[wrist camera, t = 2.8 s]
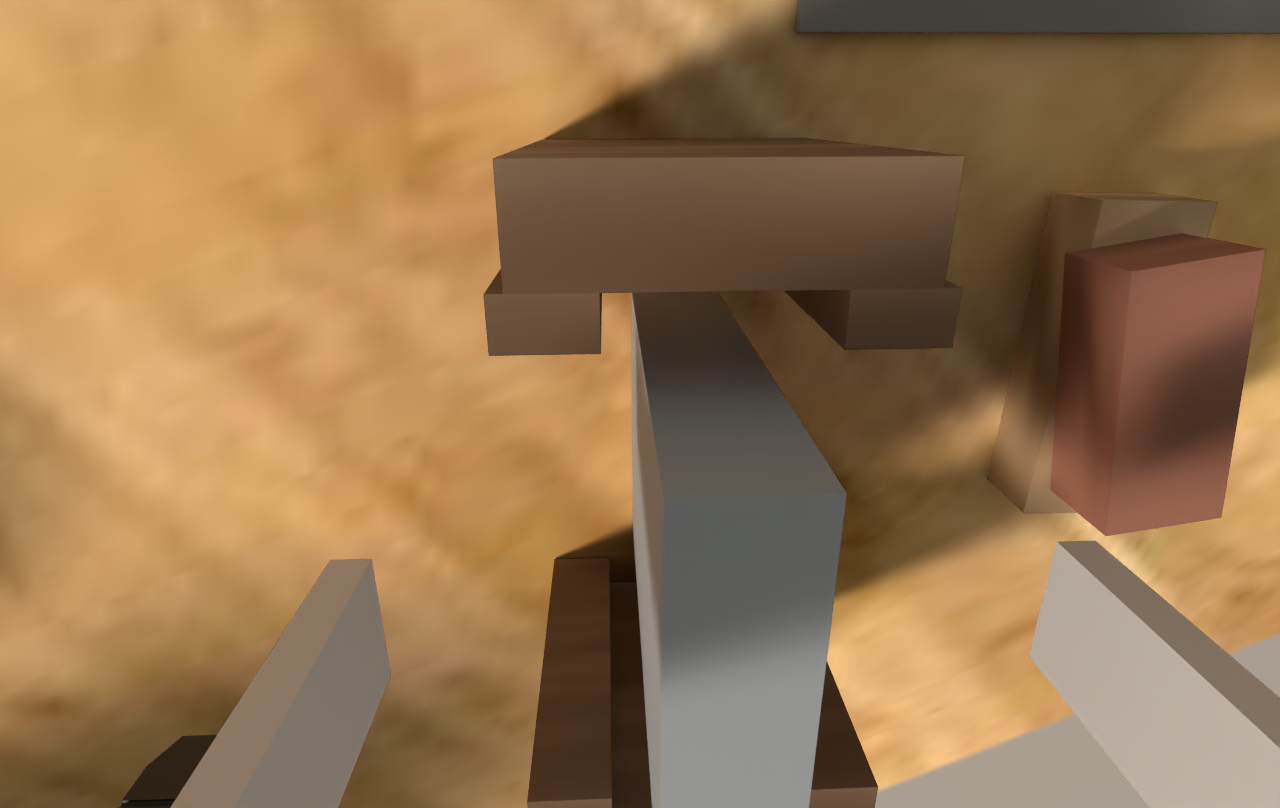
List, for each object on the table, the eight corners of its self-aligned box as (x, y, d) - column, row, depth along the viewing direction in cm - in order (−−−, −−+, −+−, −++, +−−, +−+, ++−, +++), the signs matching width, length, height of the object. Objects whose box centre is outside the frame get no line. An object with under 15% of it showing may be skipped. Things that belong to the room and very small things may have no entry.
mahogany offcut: (1064, 253, 18) (1131, 272, 16) (1181, 233, 18) (1265, 249, 16) (1050, 490, 21) (1105, 536, 19) (1152, 473, 21) (1221, 517, 19)
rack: (530, 139, 19) (471, 158, 10) (817, 138, 19) (984, 156, 11) (558, 632, 25) (535, 895, 16) (776, 625, 25) (862, 880, 17)
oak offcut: (1045, 190, 20) (1103, 200, 18) (1148, 192, 20) (1217, 201, 18) (982, 473, 24) (1023, 513, 21) (1070, 473, 24) (1120, 512, 21)
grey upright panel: (631, 288, 20) (664, 497, 9) (715, 287, 20) (846, 492, 9) (632, 530, 23) (659, 907, 12) (706, 528, 23) (797, 900, 12)
